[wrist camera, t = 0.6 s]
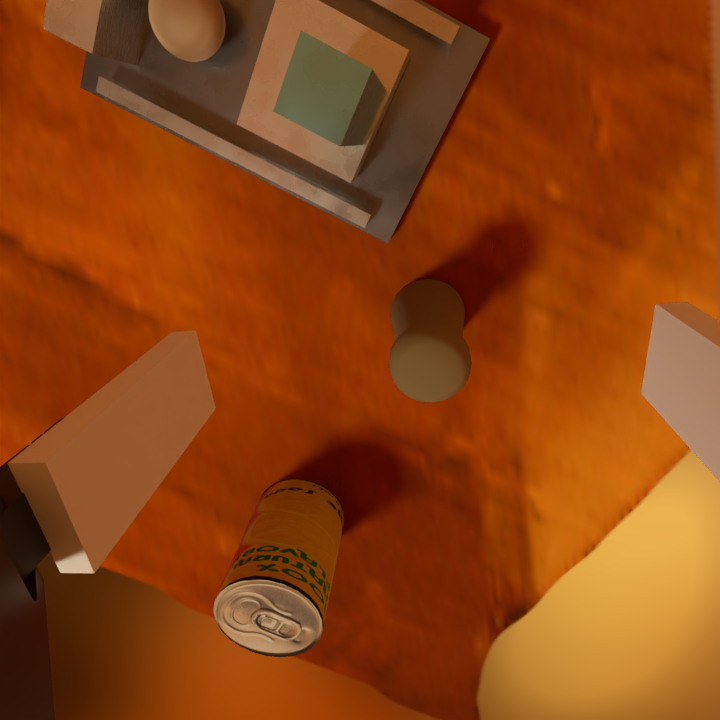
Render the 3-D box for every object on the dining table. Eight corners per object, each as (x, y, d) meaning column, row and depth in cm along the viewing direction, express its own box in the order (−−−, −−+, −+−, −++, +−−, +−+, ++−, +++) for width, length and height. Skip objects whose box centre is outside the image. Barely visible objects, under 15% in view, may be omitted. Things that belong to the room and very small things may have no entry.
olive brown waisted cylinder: (417, 263, 37) (417, 308, 27) (480, 305, 38) (502, 363, 28) (376, 324, 40) (361, 385, 30) (436, 362, 41) (441, 433, 31)
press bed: (93, 89, 35) (27, 78, 29) (138, -152, 29) (67, -227, 23) (389, 239, 37) (383, 258, 31) (487, 43, 31) (503, 20, 25)
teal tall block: (251, 125, 33) (158, 117, 21) (294, -6, 30) (212, -102, 18) (356, 179, 34) (322, 200, 22) (410, 58, 30) (404, 5, 19)
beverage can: (271, 466, 47) (228, 564, 36) (356, 499, 48) (338, 604, 37) (248, 529, 51) (202, 634, 40) (327, 558, 52) (302, 669, 41)
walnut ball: (162, 46, 32) (125, 33, 28) (180, -29, 30) (143, -56, 26) (223, 78, 32) (195, 70, 28) (244, 5, 30) (218, -15, 26)
